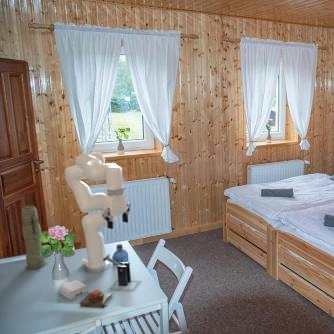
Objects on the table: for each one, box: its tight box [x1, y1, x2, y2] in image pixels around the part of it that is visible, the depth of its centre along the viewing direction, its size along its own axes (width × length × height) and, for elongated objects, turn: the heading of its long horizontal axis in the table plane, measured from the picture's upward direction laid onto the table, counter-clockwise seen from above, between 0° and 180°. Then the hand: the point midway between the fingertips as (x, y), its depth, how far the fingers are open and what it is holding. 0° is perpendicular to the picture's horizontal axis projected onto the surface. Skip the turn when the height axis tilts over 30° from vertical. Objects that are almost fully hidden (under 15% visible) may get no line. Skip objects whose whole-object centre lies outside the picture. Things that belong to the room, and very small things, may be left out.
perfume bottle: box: [111, 243, 130, 266], centre depth 218 cm, size 6×6×12 cm
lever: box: [103, 254, 128, 269], centre depth 194 cm, size 12×5×2 cm
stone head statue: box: [20, 204, 46, 270], centre depth 216 cm, size 9×12×35 cm
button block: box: [79, 290, 113, 309], centre depth 181 cm, size 11×9×4 cm
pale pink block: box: [59, 279, 88, 300], centre depth 190 cm, size 5×9×15 cm
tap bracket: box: [116, 261, 132, 287], centre depth 195 cm, size 12×9×12 cm
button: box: [91, 289, 101, 297], centre depth 181 cm, size 4×4×2 cm
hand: (118, 225), depth 189 cm, fingers open, 9 cm apart
